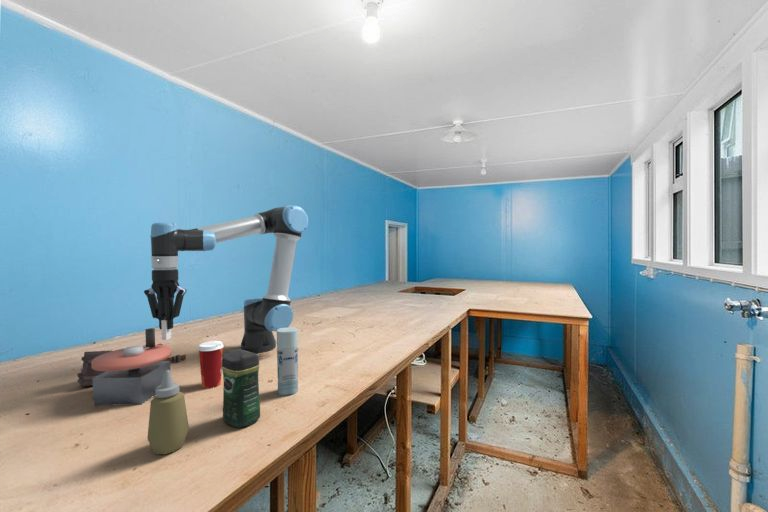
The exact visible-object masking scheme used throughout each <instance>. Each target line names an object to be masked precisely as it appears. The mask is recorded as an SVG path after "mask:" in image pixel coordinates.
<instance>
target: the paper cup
mask: <svg viewBox="0 0 768 512" xmlns="http://www.w3.org/2000/svg"><path fill="white" fill-rule="evenodd" d="M224 347H225V346H224V344H223V342H222V341H220V340H210V341H209V340H208V341H205V342H202V343H200V344H199V346H198V348H197V351H198V356H199V367H200V376H201V377H200V378H201V387H202V388H203V389H207V388H208V389H213V387H214V388H217V387H219V386H220V385H221V384H222V374H223V371H222V359H223V349H224Z"/></svg>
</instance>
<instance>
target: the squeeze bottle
mask: <svg viewBox="0 0 768 512" xmlns="http://www.w3.org/2000/svg"><path fill="white" fill-rule="evenodd" d="M155 393H156V395H155V396H153V397H152V398H151V401H150V406H149V417H148V428H147V441H148V442H149V445H150V447H151V449H152V451H153V453H154V452H155V453H156V454H155V453H154V454H155V455H158V454H163V455H166V454H165V453H169V452H172V453H174V452H176V451H178V450H180V449H181V448H182V447H184V443H185V440H186V438H187V435H188V432H189V429H190V428H189V427H190V426H189V425H190V424H189V420H188V419H189V418H188V414H187V405H186V398H185V394H184V392H181V391H180V383H177V382H174V379H173V376H172V373H171V369H170V370H166V371H164V374H163V379H162V383H161V385H160V386H158V387H157V388H156V389H155ZM180 447H181V448H180ZM179 448H180V449H179ZM177 449H178V450H177ZM175 450H176V451H175ZM173 451H174V452H173ZM169 454H170V453H169Z"/></svg>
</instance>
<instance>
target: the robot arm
mask: <svg viewBox="0 0 768 512" xmlns="http://www.w3.org/2000/svg"><path fill="white" fill-rule="evenodd" d="M308 226H309V216H308V213H306V211H305V209H303V208H302V207H300V205H299V206H298V205H287V206H281V207H280V206H279V207H275V208H271V209H268V210H266V211H262V212H258V213H255V214H253V216H250V217H249V216H248V217H245V218H239V219H235V220H230V221H225V222H220V223H216V224H210V225H206V226H200V227H196V228H191V229H180V228H179V227H178V223H175V222H174V223H173V222H154V223H152V224H151V226H150V228H151V229H150V250H151V251H150V252H151V261H150V262H151V268H152V269H151V281H152V284H151V286H150V288H148V289H145V290H144V291H143V293H144V294H145V296H146V298H147V301H148V305H149V307H150V308H149V309H150V312H151V316H152V318H153V319H158V328H159V330H161V340H163V341H164V340H169V339H171V338H172V329H173V328H174V319H175V318H177V317H179V316H180V314H181V309H182V306H183V300H184V296H185V294H187V291H188V290H187V289H186V288H183V287H181V286H180V283H179V270H178V269H177V268H178V267H179V252H208V251H213V250H214V249H215V247H216V244H218V243H223V242H226V241H232V240H234V239H238V238H243V237H244V238H245V237H247V236H251V235H255V234H257V235H258V234H259V235H266V234H273V235H274V237H275V239H276V240H275V245H274V249H273V250H274V252H273V257H272V264H271V269H270V275H269V281H268V287H267V293H266V294H265V295H263V296H260V297H252V298H246V299H245V300H244V301H243V320H244V321H243V323H244V324H243V325H244V330H243V331H244V333H243V335H242V339H241V343H240V348H239V349H241V350H245V351H249V352H252V353H255V354H258V353H266V352H268V351H272V350H274V349H275V348H277V339H276V338H275V335H274V332H276V333H277V330H278V329H280V328H284V327H291V324H292V322H293V319H294V315H295V314H294V311H293V308H292V307H291V301H292V300H291V298H290V297H289V290H290V286H291V278H292V273H293V267H294V261H295V255H296V254H295V253H296V247H297V242H298V241H299V240H301V238H302V233H303V232H304V231H306V230H307V228H308ZM175 294H176V295H175Z"/></svg>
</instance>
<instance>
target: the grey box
mask: <svg viewBox="0 0 768 512" xmlns="http://www.w3.org/2000/svg"><path fill="white" fill-rule="evenodd" d="M166 370H170V371H171V362H170V361H161V362H158V363H156V364H152V365H149V366H145V367H141V368H137V369H133V370H123V371H110V372H104V373H102V374H100V375H98V376H96V377H94V378H93V385H92V397H93V398H92V399H93V402H92V404H93V406H103V405H104V406H108V405H109V406H110V405H111V406H112V405H113V406H115V405H117V404H120V405H143V404H144V403H146V402H147V401H149V400H150V399H152V398H153V397H155V396H156V393H155V389H156V388H157V387H158V386H160V385H161V383H162V379H163V374H164V371H166ZM154 395H155V396H154ZM152 396H153V397H152ZM151 397H152V398H151ZM148 399H149V400H148ZM145 401H146V402H145ZM142 403H143V404H142ZM114 404H115V405H114Z"/></svg>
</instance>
